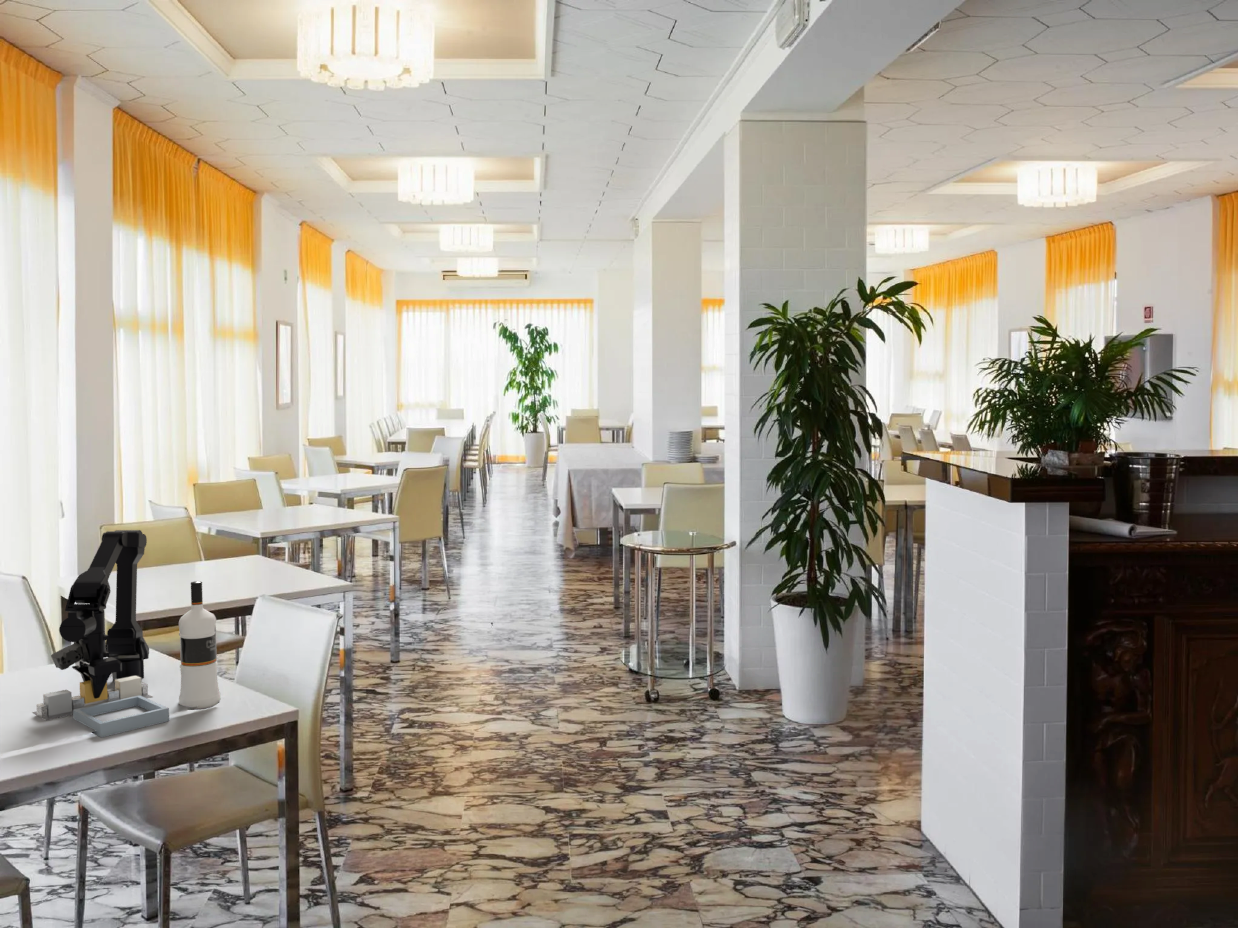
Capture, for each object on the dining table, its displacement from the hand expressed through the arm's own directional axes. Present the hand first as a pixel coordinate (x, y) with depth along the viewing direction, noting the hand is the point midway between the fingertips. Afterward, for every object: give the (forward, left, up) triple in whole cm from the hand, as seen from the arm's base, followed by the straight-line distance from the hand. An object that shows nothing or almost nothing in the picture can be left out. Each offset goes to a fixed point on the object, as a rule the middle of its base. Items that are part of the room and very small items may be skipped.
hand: (93, 696), depth 241 cm
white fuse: (-8, 0, -2) cm, 8 cm away
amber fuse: (0, 0, -1) cm, 1 cm away
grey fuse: (+8, 0, -2) cm, 8 cm away
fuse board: (0, 0, -3) cm, 3 cm away
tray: (0, +15, -3) cm, 15 cm away
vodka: (-18, +16, -3) cm, 24 cm away
